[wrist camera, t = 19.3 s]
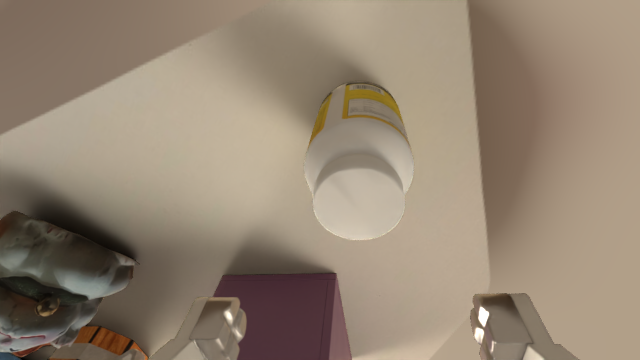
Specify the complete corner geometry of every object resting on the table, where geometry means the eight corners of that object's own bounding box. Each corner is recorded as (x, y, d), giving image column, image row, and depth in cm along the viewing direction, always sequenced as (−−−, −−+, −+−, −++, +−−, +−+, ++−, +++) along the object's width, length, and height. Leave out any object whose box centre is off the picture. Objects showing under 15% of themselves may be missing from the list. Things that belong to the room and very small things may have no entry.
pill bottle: (325, 157, 28) (306, 255, 18) (311, 84, 25) (279, 157, 15) (401, 150, 27) (424, 251, 17) (398, 71, 23) (424, 142, 14)
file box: (222, 275, 38) (184, 358, 30) (336, 273, 36) (328, 362, 28) (259, 355, 48) (238, 436, 39) (352, 358, 45) (349, 444, 37)
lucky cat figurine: (163, 273, 39) (77, 400, 32) (113, 252, 46) (32, 355, 39) (46, 205, 29) (-117, 371, 22) (2, 190, 35) (-136, 316, 28)
